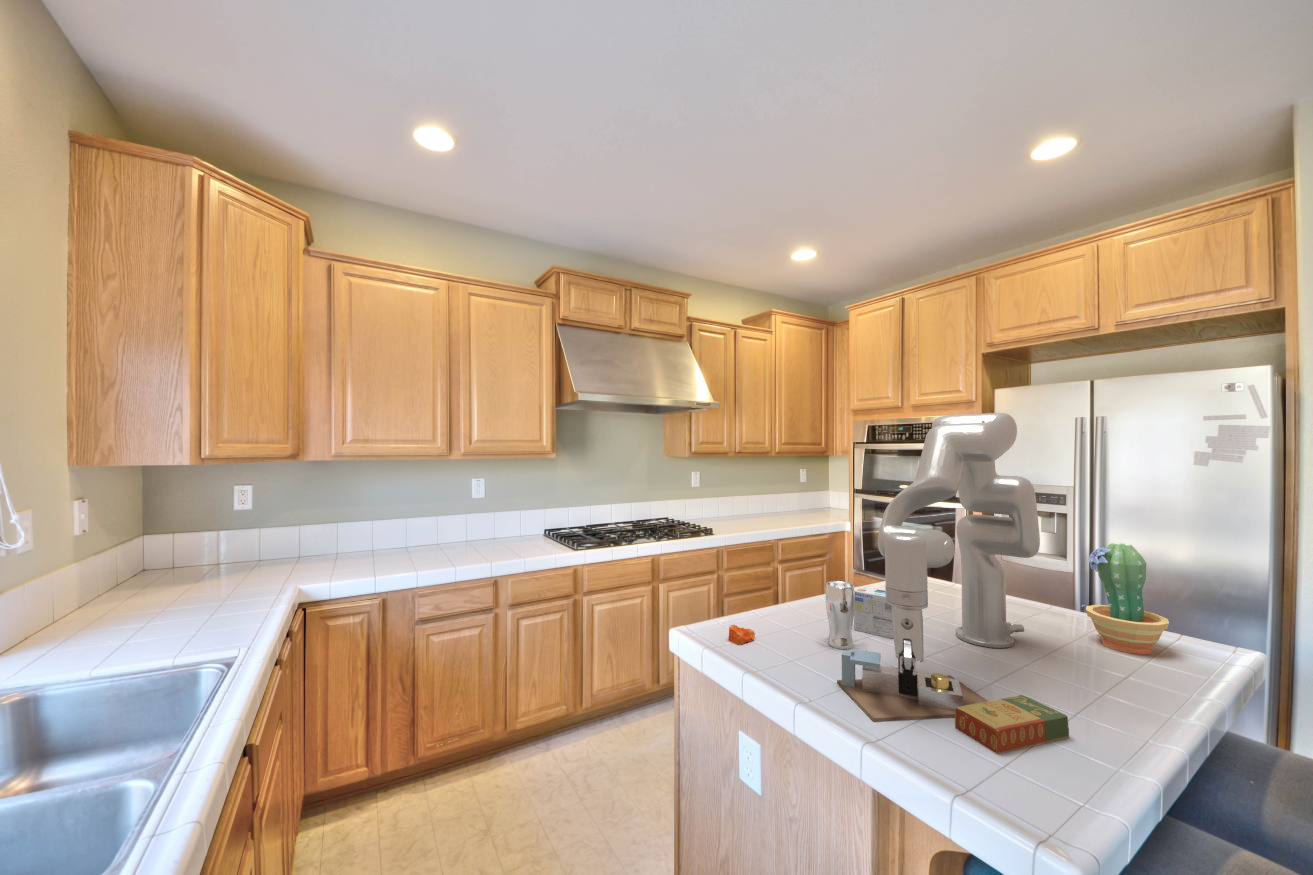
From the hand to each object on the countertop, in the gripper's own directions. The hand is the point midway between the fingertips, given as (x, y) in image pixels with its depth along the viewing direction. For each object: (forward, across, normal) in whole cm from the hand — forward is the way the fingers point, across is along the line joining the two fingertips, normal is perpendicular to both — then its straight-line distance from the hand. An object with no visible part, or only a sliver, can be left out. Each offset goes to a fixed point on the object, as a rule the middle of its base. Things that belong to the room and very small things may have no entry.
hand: (907, 683), depth 101 cm
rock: (+4, +16, +38) cm, 41 cm away
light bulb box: (+3, +37, +6) cm, 38 cm away
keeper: (+3, 0, +8) cm, 8 cm away
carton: (+3, -6, -16) cm, 17 cm away
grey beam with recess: (+2, 0, 0) cm, 2 cm away
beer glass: (+3, +23, +15) cm, 27 cm away
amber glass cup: (+3, 0, -6) cm, 6 cm away
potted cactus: (+3, +51, -49) cm, 71 cm away
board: (+3, 0, -1) cm, 3 cm away
